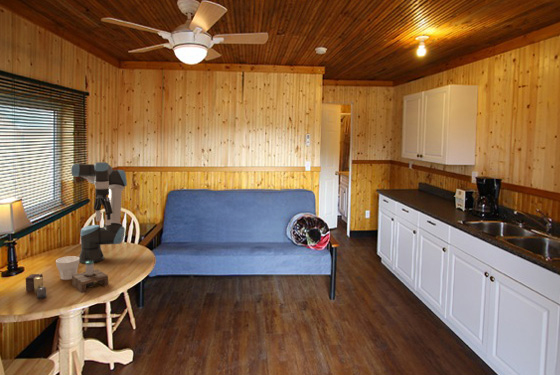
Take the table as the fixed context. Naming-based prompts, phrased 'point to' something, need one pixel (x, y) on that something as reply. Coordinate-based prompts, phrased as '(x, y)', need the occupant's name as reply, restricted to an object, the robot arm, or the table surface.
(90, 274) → the long pin
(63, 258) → the cup
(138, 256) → the table surface
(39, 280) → the medium pin
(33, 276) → the box
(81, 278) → the bracket
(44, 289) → the short pin
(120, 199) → the robot arm
